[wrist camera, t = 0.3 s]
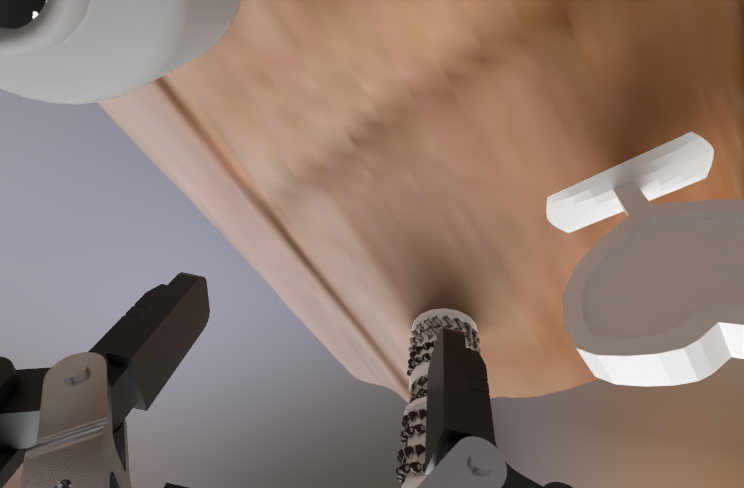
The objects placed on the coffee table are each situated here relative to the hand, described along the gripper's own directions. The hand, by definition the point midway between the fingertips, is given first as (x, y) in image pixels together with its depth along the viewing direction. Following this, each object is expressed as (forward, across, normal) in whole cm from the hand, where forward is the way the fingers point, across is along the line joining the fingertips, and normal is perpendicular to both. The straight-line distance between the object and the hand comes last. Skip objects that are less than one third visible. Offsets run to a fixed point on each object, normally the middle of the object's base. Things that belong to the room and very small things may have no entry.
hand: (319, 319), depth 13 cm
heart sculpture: (+26, -21, +3) cm, 34 cm away
